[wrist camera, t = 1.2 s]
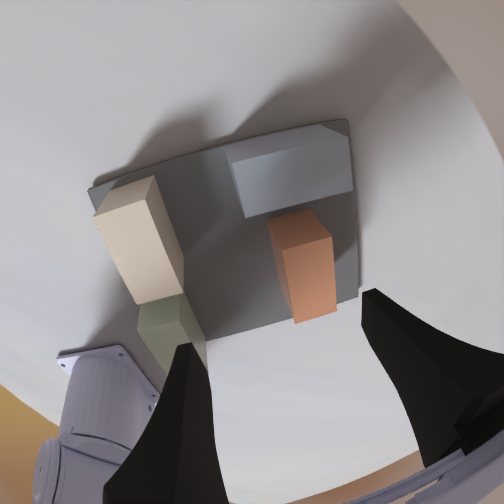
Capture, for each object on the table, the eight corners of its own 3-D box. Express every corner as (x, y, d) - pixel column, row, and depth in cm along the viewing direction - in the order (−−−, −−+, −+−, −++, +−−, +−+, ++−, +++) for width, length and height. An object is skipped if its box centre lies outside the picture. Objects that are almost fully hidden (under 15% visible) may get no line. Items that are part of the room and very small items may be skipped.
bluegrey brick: (319, 124, 18) (347, 137, 15) (325, 168, 20) (352, 190, 16) (224, 145, 18) (231, 163, 14) (235, 191, 19) (245, 218, 16)
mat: (356, 293, 27) (358, 296, 26) (168, 345, 26) (168, 350, 26) (344, 118, 18) (348, 119, 18) (89, 188, 18) (87, 191, 18)
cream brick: (183, 256, 21) (183, 292, 18) (143, 267, 21) (137, 304, 18) (154, 175, 18) (144, 199, 15) (110, 190, 18) (92, 217, 14)
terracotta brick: (317, 277, 24) (336, 310, 21) (280, 288, 24) (295, 323, 21) (309, 208, 21) (331, 236, 18) (266, 219, 21) (281, 250, 17)
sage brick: (205, 337, 25) (208, 374, 22) (171, 345, 25) (171, 382, 22) (179, 282, 22) (179, 320, 19) (142, 292, 22) (136, 330, 19)
